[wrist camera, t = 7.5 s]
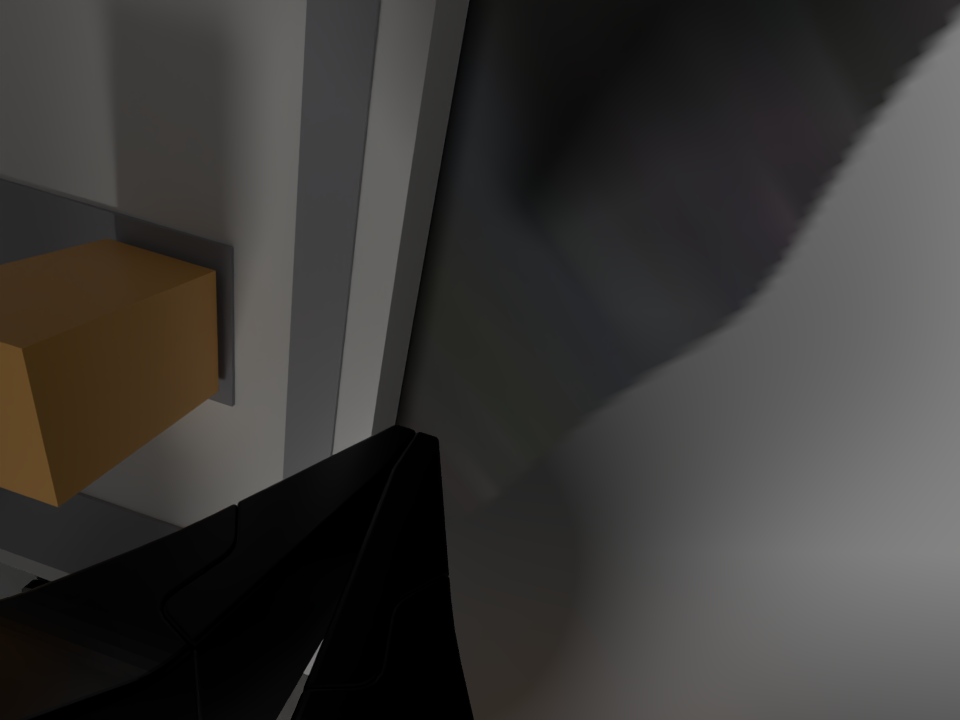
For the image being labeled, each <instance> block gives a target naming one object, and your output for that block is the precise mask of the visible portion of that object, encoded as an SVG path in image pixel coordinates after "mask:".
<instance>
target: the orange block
mask: <svg viewBox="0 0 960 720" xmlns="http://www.w3.org/2000/svg"><path fill="white" fill-rule="evenodd" d="M218 391H219V378H218V338H217V298H216V271H215V270H212V269H209V268H205V267H202V266H199V265H195V264H192V263H189V262H185V261H182V260H179V259H175V258H172V257H169V256H165V255H162V254H158V253H155V252H152V251H148V250H145V249H142V248H138V247H135V246H132V245H128V244H125V243H122V242H118V241H115V240H112V239H108V238H107V239H103V240H99V241H95V242H91V243H87V244H83V245H79V246H75V247H71V248H67V249H63V250H59V251H55V252H51V253H47V254H43V255H38V256H34V257H30V258H26V259H22V260H18V261H14V262H10V263H6V264H2V265H0V487H2V488H5V489H7V490H10V491H13V492H16V493H19V494H22V495H25V496H27V497H30V498H33V499H36V500H39V501H42V502H45V503H47V504H50V505H53V506H56V507H59V506H61V505H62V504H64V503H65V502H66V501H68V500H69V499H71V498H72V497H73V496H75V495H76V494H77V493H79V492H80V491H82V490H83V489H84V488H86V487H87V486H89V485H90V484H91V483H93V482H94V481H95V480H97V479H98V478H100V477H101V476H102V475H104V474H105V473H106V472H108V471H109V470H111V469H112V468H113V467H115V466H116V465H118V464H119V463H120V462H122V461H123V460H124V459H126V458H127V457H129V456H130V455H131V454H133V453H134V452H135V451H137V450H138V449H140V448H141V447H142V446H144V445H145V444H147V443H148V442H149V441H151V440H152V439H153V438H155V437H156V436H158V435H159V434H160V433H162V432H163V431H164V430H166V429H167V428H169V427H170V426H171V425H173V424H174V423H176V422H177V421H178V420H180V419H181V418H182V417H184V416H185V415H187V414H188V413H189V412H191V411H192V410H193V409H195V408H196V407H198V406H199V405H200V404H202V403H203V402H205V401H206V400H207V399H209V398H210V397H211V396H213V395H214V394H216V393H217V392H218Z"/></svg>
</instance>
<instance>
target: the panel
mask: <svg viewBox="0 0 960 720" xmlns="http://www.w3.org/2000/svg"><path fill="white" fill-rule="evenodd" d="M468 5H469V0H0V265H2V264H6V263H10V262H14V261H18V260H22V259H26V258H30V257H34V256H38V255H43V254H47V253H51V252H55V251H59V250H63V249H67V248H71V247H75V246H79V245H83V244H87V243H91V242H95V241H99V240H103V239H107V238H108V239H112V240H115V241H118V242H122V243H125V244H128V245H132V246H135V247H138V248H142V249H145V250H148V251H152V252H155V253H158V254H162V255H165V256H169V257H172V258H175V259H179V260H182V261H185V262H189V263H192V264H195V265H199V266H202V267H205V268H209V269H212V270H215V271H216V298H217V338H218V378H219V391H218V392H217V393H216V394H214V395H213V396H211V397H210V398H209V399H207V400H206V401H205V402H203V403H202V404H200V405H199V406H198V407H196V408H195V409H193V410H192V411H191V412H189V413H188V414H187V415H185V416H184V417H182V418H181V419H180V420H178V421H177V422H176V423H174V424H173V425H171V426H170V427H169V428H167V429H166V430H164V431H163V432H162V433H160V434H159V435H158V436H156V437H155V438H153V439H152V440H151V441H149V442H148V443H147V444H145V445H144V446H142V447H141V448H140V449H138V450H137V451H135V452H134V453H133V454H131V455H130V456H129V457H127V458H126V459H124V460H123V461H122V462H120V463H119V464H118V465H116V466H115V467H113V468H112V469H111V470H109V471H108V472H106V473H105V474H104V475H102V476H101V477H100V478H98V479H97V480H95V481H94V482H93V483H91V484H90V485H89V486H87V487H86V488H84V489H83V490H82V491H80V492H79V493H77V494H76V495H75V496H73V497H72V498H71V499H69V500H68V501H66V502H65V503H64V504H62V505H61V506H59V507H56V506H53V505H50V504H47V503H45V502H42V501H39V500H36V499H33V498H30V497H27V496H25V495H22V494H19V493H16V492H13V491H10V490H7V489H5V488H2V487H0V563H2V564H5V565H8V566H11V567H13V568H16V569H19V570H22V571H24V572H27V573H30V574H33V575H35V576H38V577H41V578H44V579H46V580H49V581H54V580H56V579H59V578H61V577H64V576H66V575H69V574H71V573H74V572H76V571H79V570H82V569H84V568H87V567H89V566H92V565H94V564H97V563H99V562H102V561H104V560H107V559H109V558H112V557H114V556H117V555H120V554H122V553H125V552H127V551H130V550H132V549H135V548H137V547H140V546H142V545H144V544H147V543H149V542H152V541H154V540H156V539H159V538H161V537H164V536H166V535H168V534H171V533H173V532H176V531H178V530H180V529H182V528H184V527H187V526H189V525H191V524H193V523H195V522H197V521H199V520H202V519H204V518H206V517H208V516H210V515H212V514H214V513H216V512H218V511H220V510H222V509H224V508H226V507H228V506H230V505H233V504H236V505H237V504H238V502H239V501H241V500H243V499H245V498H247V497H249V496H251V495H253V494H255V493H257V492H259V491H261V490H263V489H265V488H267V487H269V486H271V485H273V484H275V483H277V482H279V481H281V480H283V479H285V478H287V477H290V476H292V475H294V474H296V473H298V472H300V471H302V470H304V469H306V468H308V467H310V466H312V465H314V464H316V463H318V462H320V461H322V460H324V459H326V458H328V457H330V456H332V455H334V454H336V453H338V452H340V451H342V450H344V449H346V448H348V447H350V446H352V445H354V444H356V443H358V442H360V441H362V440H364V439H366V438H368V437H370V436H372V435H374V434H376V433H378V432H380V431H382V430H385V429H387V428H389V427H391V426H393V425H395V422H396V416H397V410H398V405H399V399H400V393H401V388H402V382H403V376H404V370H405V365H406V359H407V353H408V348H409V342H410V336H411V331H412V325H413V319H414V313H415V308H416V302H417V296H418V291H419V285H420V279H421V273H422V268H423V262H424V256H425V251H426V245H427V239H428V234H429V228H430V222H431V216H432V211H433V205H434V199H435V194H436V188H437V182H438V176H439V171H440V165H441V159H442V154H443V148H444V142H445V137H446V131H447V125H448V119H449V114H450V108H451V102H452V97H453V91H454V85H455V80H456V74H457V68H458V62H459V57H460V51H461V45H462V40H463V34H464V28H465V22H466V17H467V11H468ZM322 641H323V640H322ZM321 643H322V642H321ZM320 646H321V644H320V645H319V647H318V649H317V650H316V652H315V654H314V656H313V657H312V659H311V661H310V662H309V664H308V666H307V668H306V669H305V671H304V674H307V675H309V673H310V671H311V668H312V666H313V663H314V661H315V658H316V656H317V653H318V651H319V648H320Z"/></svg>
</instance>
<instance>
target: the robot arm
mask: <svg viewBox="0 0 960 720" xmlns="http://www.w3.org/2000/svg"><path fill="white" fill-rule="evenodd" d="M448 576H449V568H448V555H447V542H446V529H445V516H444V503H443V490H442V477H441V464H440V451H439V440H438V438H437V437H435V436H431V435H428V434H425V433H422V432H418V433H416V432H415V431H414V430H412V429H409V428H406V427H403V426H400V425H393V426H391V427H389V428H387V429H385V430H382V431H380V432H378V433H376V434H374V435H372V436H370V437H368V438H366V439H364V440H362V441H360V442H358V443H356V444H354V445H352V446H350V447H348V448H346V449H344V450H342V451H340V452H338V453H336V454H334V455H332V456H330V457H328V458H326V459H324V460H322V461H320V462H318V463H316V464H314V465H312V466H310V467H308V468H306V469H304V470H302V471H300V472H298V473H296V474H294V475H292V476H290V477H287V478H285V479H283V480H281V481H279V482H277V483H275V484H273V485H271V486H269V487H267V488H265V489H263V490H261V491H259V492H257V493H255V494H253V495H251V496H249V497H247V498H245V499H243V500H241V501H239V502H238V504H237V505H236V504H233V505H230V506H228V507H226V508H224V509H222V510H220V511H218V512H216V513H214V514H212V515H210V516H208V517H206V518H204V519H202V520H199V521H197V522H195V523H193V524H191V525H189V526H187V527H184V528H182V529H180V530H178V531H176V532H173V533H171V534H168V535H166V536H164V537H161V538H159V539H156V540H154V541H152V542H149V543H147V544H144V545H142V546H140V547H137V548H135V549H132V550H130V551H127V552H125V553H122V554H120V555H117V556H114V557H112V558H109V559H107V560H104V561H102V562H99V563H97V564H94V565H92V566H89V567H87V568H84V569H82V570H79V571H76V572H74V573H71V574H69V575H66V576H64V577H61V578H59V579H56V580H54V581H51V582H49V583H45V582H42V581H40V580H32V581H31V582H30V583H29V584H27V585H26V586H25V587H24V588H23V589H22V593H20V594H17V595H14V596H11V597H7V598H4V599H0V720H276V719H277V717H278V716H279V714H280V712H281V711H282V709H283V707H284V705H285V704H286V702H287V700H288V699H289V697H290V695H291V693H292V692H293V690H294V688H295V687H296V685H297V683H298V681H299V680H300V678H301V676H302V674H303V673H304V671H305V669H306V668H307V666H308V664H309V662H310V661H311V659H312V657H313V656H314V654H315V652H316V650H317V649H318V647H319V645H320V644H321V646H320V648H319V651H318V653H317V656H316V658H315V661H314V663H313V666H312V668H311V671H310V673H309V676H308V678H307V681H306V683H305V686H304V690H303V693H302V694H301V696H300V699H299V701H298V704H297V706H296V708H295V711H294V713H293V715H292V718H291V720H474V718H473V713H472V709H471V704H470V700H469V696H468V691H467V687H466V682H465V678H464V673H463V669H462V665H461V660H460V654H459V649H458V644H457V639H456V633H455V627H454V619H453V610H452V603H451V592H450V579H449V577H448ZM322 640H323V641H322ZM321 642H322V643H321Z"/></svg>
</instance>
